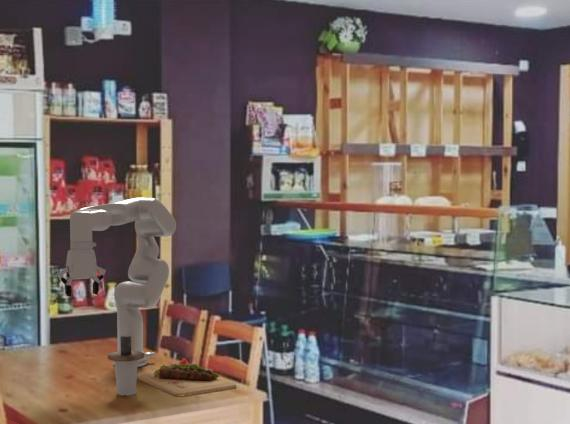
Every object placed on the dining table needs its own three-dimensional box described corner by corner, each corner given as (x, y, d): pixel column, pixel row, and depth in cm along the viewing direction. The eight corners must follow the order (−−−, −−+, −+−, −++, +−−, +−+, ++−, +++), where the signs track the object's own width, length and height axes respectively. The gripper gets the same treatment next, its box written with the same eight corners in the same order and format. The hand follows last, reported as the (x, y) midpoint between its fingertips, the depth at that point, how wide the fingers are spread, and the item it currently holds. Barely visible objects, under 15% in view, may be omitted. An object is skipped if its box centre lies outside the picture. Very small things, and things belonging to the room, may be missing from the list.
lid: (135, 352, 314) (135, 331, 314) (150, 358, 304) (149, 337, 304) (102, 356, 308) (102, 335, 307) (115, 362, 298) (115, 341, 297)
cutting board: (132, 378, 330) (132, 357, 330) (190, 370, 343) (190, 350, 343) (177, 399, 301) (177, 376, 301) (239, 389, 314) (239, 367, 314)
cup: (142, 391, 309) (142, 355, 308) (131, 396, 302) (130, 360, 301) (121, 389, 312) (121, 354, 311) (109, 395, 304) (109, 359, 304)
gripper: (101, 244, 330) (101, 291, 331) (53, 246, 321) (54, 295, 322) (108, 246, 323) (109, 294, 324) (60, 248, 314) (61, 298, 315)
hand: (82, 295), depth 323 cm, fingers open, 9 cm apart
